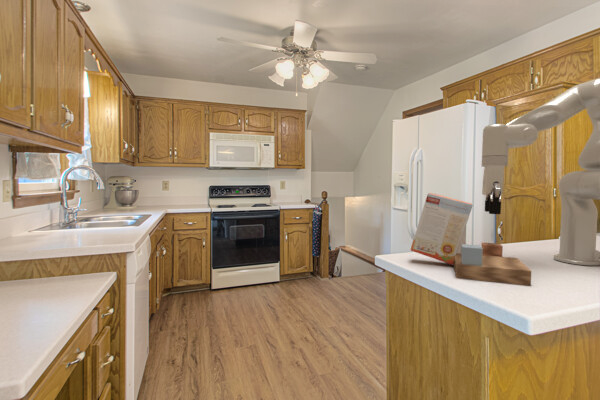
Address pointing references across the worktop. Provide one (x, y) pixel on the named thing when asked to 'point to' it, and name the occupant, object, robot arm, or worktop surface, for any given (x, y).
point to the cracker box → (441, 227)
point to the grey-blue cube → (471, 254)
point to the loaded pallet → (492, 249)
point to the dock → (494, 270)
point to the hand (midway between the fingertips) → (492, 212)
